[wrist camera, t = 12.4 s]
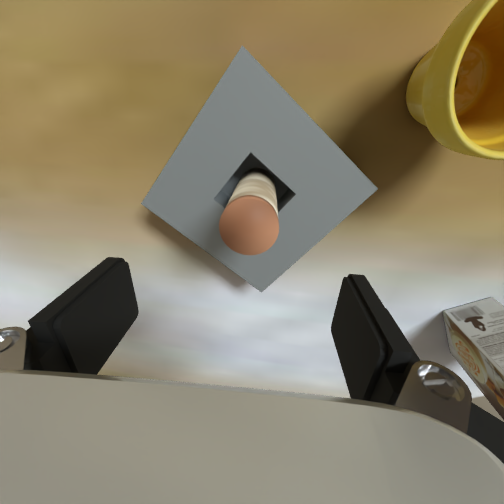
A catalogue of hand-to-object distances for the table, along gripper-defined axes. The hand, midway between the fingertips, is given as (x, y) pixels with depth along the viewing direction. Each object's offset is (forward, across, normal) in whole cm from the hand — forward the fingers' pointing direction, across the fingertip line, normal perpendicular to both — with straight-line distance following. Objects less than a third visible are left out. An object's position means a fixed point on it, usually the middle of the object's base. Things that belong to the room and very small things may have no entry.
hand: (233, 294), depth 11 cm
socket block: (+20, 0, -1) cm, 20 cm away
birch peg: (+18, 0, -1) cm, 19 cm away
